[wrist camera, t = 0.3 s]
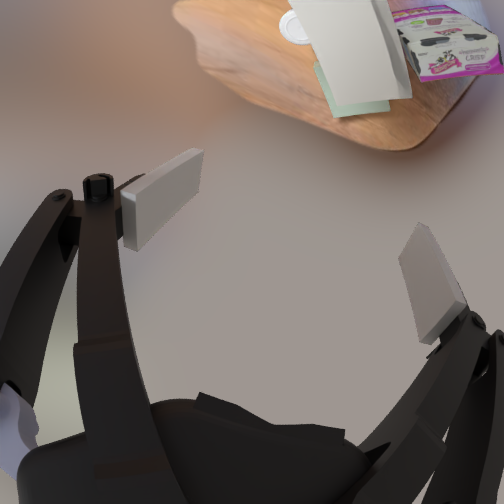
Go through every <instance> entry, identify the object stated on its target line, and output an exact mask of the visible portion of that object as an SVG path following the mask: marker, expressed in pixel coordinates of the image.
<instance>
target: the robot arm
mask: <svg viewBox="0 0 504 504" xmlns="http://www.w3.org/2000/svg"><path fill="white" fill-rule="evenodd" d="M203 155H204V150H200V149H196V148H190V149H189V150H187V151H185V152H183V153H181V154H179V155H178V156H176V157H174V158H172V159H171V160H169V161H167V162H165V163H164V164H162V165H160V166H158V167H157V168H155V169H153V170H152V171H150V172H148V173H147V174H142V175H138V176H135V177H133V178H132V179H130V180H129V181H127V182H126V183H124V184H122V185H121V186H119V187H117V188H116V189H114V182H113V176H111V175H110V174H105V173H101V174H94V175H91V176H88V177H87V178H85V179H84V181H83V191H84V201H80V200H73V194H72V191H70V190H68V189H58V190H55V191H54V192H52V193H50V194H49V195H48V196H47V197H46V198H45V199H44V201H43V202H42V204H41V205H40V206H39V207H38V209H37V210H36V211H35V213H34V214H33V216H32V217H31V218H30V220H29V221H28V223H27V224H26V226H25V227H24V229H23V230H22V232H21V233H20V235H19V236H18V238H17V239H16V241H15V243H14V244H13V246H12V248H11V249H10V251H9V252H8V254H7V256H6V257H5V259H4V261H3V263H2V265H1V266H0V468H2V469H3V470H4V471H5V472H6V473H7V474H9V475H10V476H11V477H12V478H13V479H15V480H16V481H17V490H18V496H19V504H412V502H413V501H414V500H415V498H416V497H417V496H418V494H419V493H420V492H421V490H422V489H423V487H424V486H425V484H426V483H427V481H428V480H429V478H430V477H431V475H432V474H433V472H434V471H435V472H434V474H433V476H432V479H431V481H430V484H429V486H428V488H427V491H426V493H425V496H424V498H423V500H422V503H421V504H496V501H497V492H498V489H499V485H500V481H501V477H502V473H503V468H504V333H503V332H502V331H501V330H496V331H495V332H494V333H493V334H492V335H490V334H488V333H487V332H486V325H485V323H484V321H483V320H482V318H481V317H480V316H479V315H478V314H477V313H475V312H474V311H470V309H469V306H468V304H467V302H466V300H465V297H464V296H463V292H462V291H461V288H460V286H459V283H458V282H457V280H456V278H455V276H454V274H453V272H452V270H451V268H450V266H449V264H448V262H447V260H446V258H445V256H444V254H443V253H442V251H441V249H440V247H439V245H438V243H437V242H436V240H435V238H434V236H433V234H432V233H431V231H430V229H429V227H427V226H425V225H423V224H421V223H418V224H417V226H416V228H415V230H414V232H413V234H412V235H411V237H410V239H409V241H408V242H407V244H406V246H405V248H404V249H403V251H402V253H401V255H400V256H399V258H398V259H399V263H400V266H401V269H402V272H403V276H404V279H405V283H406V286H407V290H408V294H409V298H410V302H411V306H412V310H413V314H414V318H415V323H416V327H417V332H418V337H419V342H421V343H424V344H429V345H432V343H433V342H434V341H435V340H436V339H437V338H438V337H439V338H440V342H441V343H440V344H439V345H438V346H437V347H436V348H435V349H434V350H433V351H432V352H431V353H430V354H429V355H428V356H427V357H426V358H427V359H428V358H429V357H430V358H429V360H428V361H427V363H426V364H425V366H424V367H423V369H422V370H421V371H420V373H419V374H418V376H417V377H416V379H415V380H414V381H413V383H412V384H411V386H410V387H409V388H408V390H407V391H406V392H405V394H404V395H403V396H402V398H401V399H400V400H399V402H398V403H397V404H396V405H395V407H394V408H393V409H392V410H391V411H390V413H389V414H388V415H387V416H386V417H385V418H384V420H383V421H382V422H381V423H380V424H379V425H378V427H377V428H376V429H375V430H374V431H373V432H372V433H371V434H370V435H369V436H368V437H367V439H365V440H364V441H363V442H362V443H361V444H360V445H359V446H357V447H356V446H355V445H354V444H352V443H351V442H349V441H348V440H346V439H344V436H345V429H339V428H333V427H326V426H321V425H315V424H300V425H274V424H271V423H269V422H267V421H265V420H263V419H261V418H259V417H258V416H256V415H254V414H252V413H250V412H249V411H247V410H245V409H243V408H242V407H240V406H238V405H236V404H233V403H230V402H227V401H224V400H221V399H218V398H215V397H212V396H210V395H207V394H204V393H201V392H199V394H198V397H197V399H196V400H193V399H169V400H164V401H160V402H156V403H153V404H150V402H149V398H148V395H147V392H146V389H145V385H144V382H143V378H142V375H141V371H140V367H139V363H138V359H137V356H136V351H135V347H134V343H133V338H132V334H131V329H130V324H129V318H128V313H127V308H126V302H125V296H124V289H123V283H122V276H121V268H120V260H119V250H118V240H119V239H120V238H121V237H122V236H123V242H124V247H126V248H129V249H131V250H134V251H137V252H138V251H139V250H140V249H141V248H142V247H143V246H144V245H145V244H146V243H147V242H148V241H149V240H150V239H151V238H152V236H154V235H155V234H156V233H157V232H158V231H159V230H160V229H161V228H162V227H163V226H164V225H165V223H167V222H168V221H169V220H170V219H171V217H173V216H174V215H175V214H176V213H177V212H178V211H179V210H180V209H181V208H182V207H183V206H184V205H185V204H186V203H187V202H188V201H189V200H190V199H191V198H193V197H194V196H195V195H196V194H197V193H198V190H199V183H200V175H201V167H202V161H203ZM78 247H79V251H78V267H77V326H78V343H75V344H74V347H73V357H74V367H75V377H76V384H77V392H78V398H79V404H80V409H81V415H82V420H83V424H84V429H85V432H82V433H79V434H76V435H73V436H70V437H67V438H64V439H62V440H58V441H55V442H52V443H49V444H45V445H42V446H39V447H38V445H37V443H36V439H35V436H36V435H37V434H38V431H39V426H38V424H37V421H36V416H35V413H34V410H33V406H34V403H35V399H36V396H37V392H38V386H39V382H40V376H41V371H42V365H43V360H44V356H45V351H46V347H47V342H48V338H49V334H50V330H51V326H52V323H53V319H54V316H55V312H56V309H57V305H58V302H59V299H60V296H61V293H62V290H63V287H64V284H65V281H66V278H67V275H68V273H69V270H70V267H71V265H72V262H73V259H74V257H75V255H76V252H77V250H78ZM485 372H486V373H485ZM484 373H485V374H484ZM483 374H484V375H483ZM482 375H483V376H482ZM449 425H450V426H449ZM448 427H449V430H448V433H447V437H446V440H445V443H444V441H443V440H442V438H443V437H444V435H445V433H446V431H447V429H448Z"/></svg>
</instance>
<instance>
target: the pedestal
mask: <svg viewBox="0 0 504 504" xmlns="http://www.w3.org/2000/svg"><path fill="white" fill-rule="evenodd" d="M313 69H314V71H315V73H316V75H317V78H318V80H319V82H320V85H321V87H322V89H323V92H324V94H325V97H326V99H327V102H328V104H329V107H330V109H331V112H332V114H333V117H334V118H338V117H344V116H351V115H359V114H367V113H376V112H386V111H391V110H390V105H389V101H388V100H381V101H372V102H363V103H356V104H349V105H342V106H337V105H336V102H335V99H334V97H333V94H332V92H331V89H330V87H329V84H328V82H327V79H326V77H325V74H324V72H323V70H322V67H321V65H320V63H319V61H315V62H314V67H313Z"/></svg>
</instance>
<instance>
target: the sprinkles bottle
mask: <svg viewBox="0 0 504 504" xmlns="http://www.w3.org/2000/svg"><path fill="white" fill-rule="evenodd" d="M279 28H280V32H281V34H282V35H283V37H284V38H285V39H287V40H288V41H289V42H291V43H294V44H297V45H309V44H311V43H310V41H309V39H308V37H307V35H306V33H305V31H304V29H303V27H302V25H301V23H300V21H299V19H298V18H297V16H296V14H295V12H294V10H293V8H292V9H291V10H289V11H288V12H286V13H285V14H284V15H283V17H282V18H281V20H280V23H279Z"/></svg>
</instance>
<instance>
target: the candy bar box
mask: <svg viewBox="0 0 504 504" xmlns="http://www.w3.org/2000/svg"><path fill="white" fill-rule="evenodd" d="M392 16H393V19H394V22H395V25H396V28H397V32H398V35H399V38H400V42H401V46H402V49H403V53H404V56H405V57H406V59H407V60H408V62H409V63H410V65H411V67H412V68H413V70H414V71H415V73H416V75H417V76H418V78H419V80H420V81H421V83H423V82H429V81H435V80H441V79H448V78H456V77H465V76H476V75H493V74H504V67H503V63H502V57H501V51H500V45H499V41H498V37H497V35H495V34H494V33H492V32H491V31H489V30H487V29H486V28H485V27H483V26H481V25H480V24H478V23H477V22H475V21H473V20H472V19H470V18H468V17H466V16H465V15H463V14H461V13H459V12H457V11H456V10H454V9H452V8H450V7H448V6H446V5H438V6H429V7H421V8H414V9H408V10H402V11H397V12H392Z"/></svg>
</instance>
